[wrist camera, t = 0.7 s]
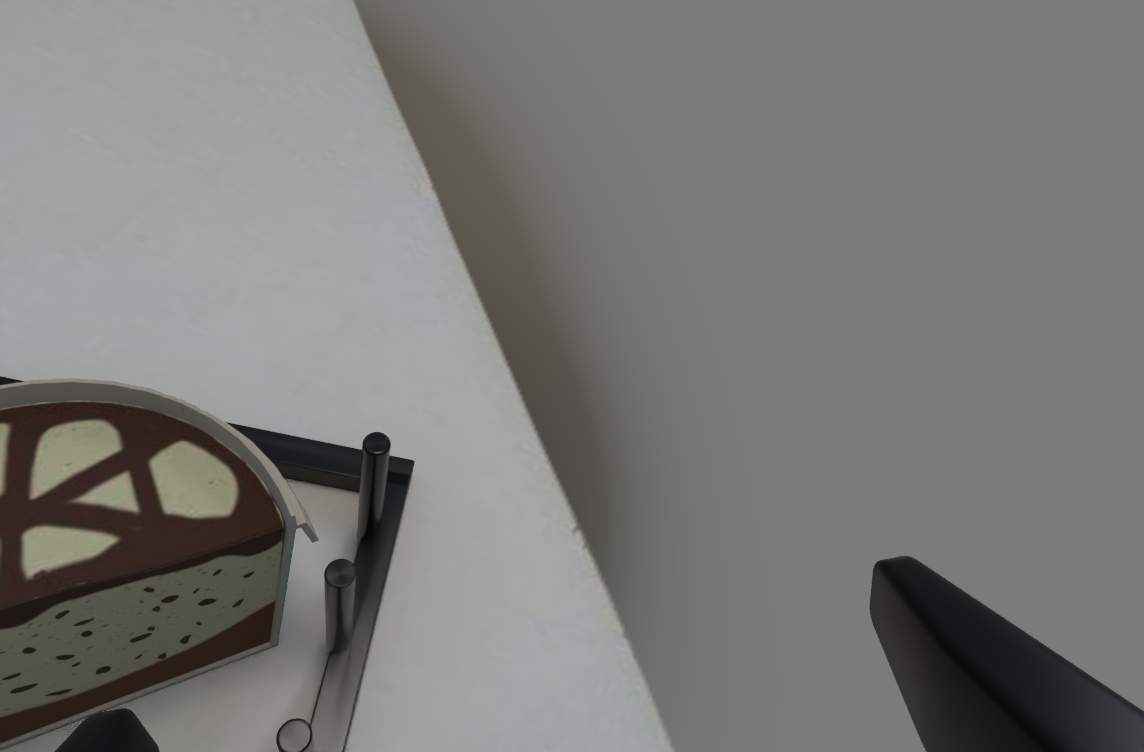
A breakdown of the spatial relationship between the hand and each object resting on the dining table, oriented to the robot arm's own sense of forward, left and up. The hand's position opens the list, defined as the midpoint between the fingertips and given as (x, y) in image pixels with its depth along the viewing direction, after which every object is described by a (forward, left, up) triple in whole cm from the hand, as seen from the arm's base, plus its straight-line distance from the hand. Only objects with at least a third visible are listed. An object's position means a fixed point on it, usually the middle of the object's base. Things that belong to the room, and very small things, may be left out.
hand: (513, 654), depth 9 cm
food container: (+4, +11, -19) cm, 22 cm away
